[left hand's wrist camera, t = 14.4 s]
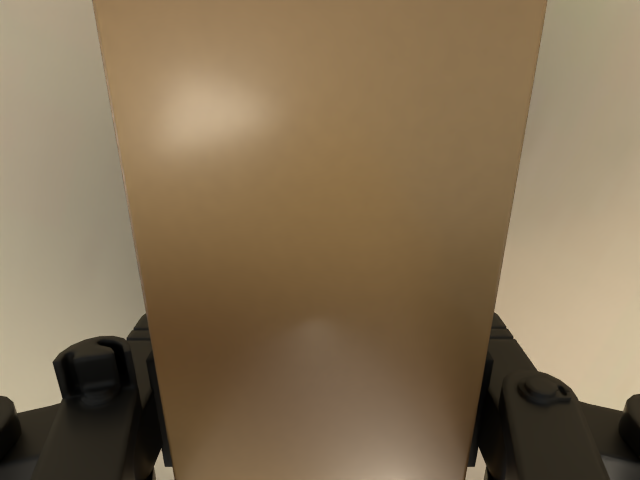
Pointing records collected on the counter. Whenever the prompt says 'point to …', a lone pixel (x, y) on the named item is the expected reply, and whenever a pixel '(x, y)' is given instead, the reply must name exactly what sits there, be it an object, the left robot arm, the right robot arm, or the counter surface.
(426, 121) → the bar
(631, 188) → the counter surface
